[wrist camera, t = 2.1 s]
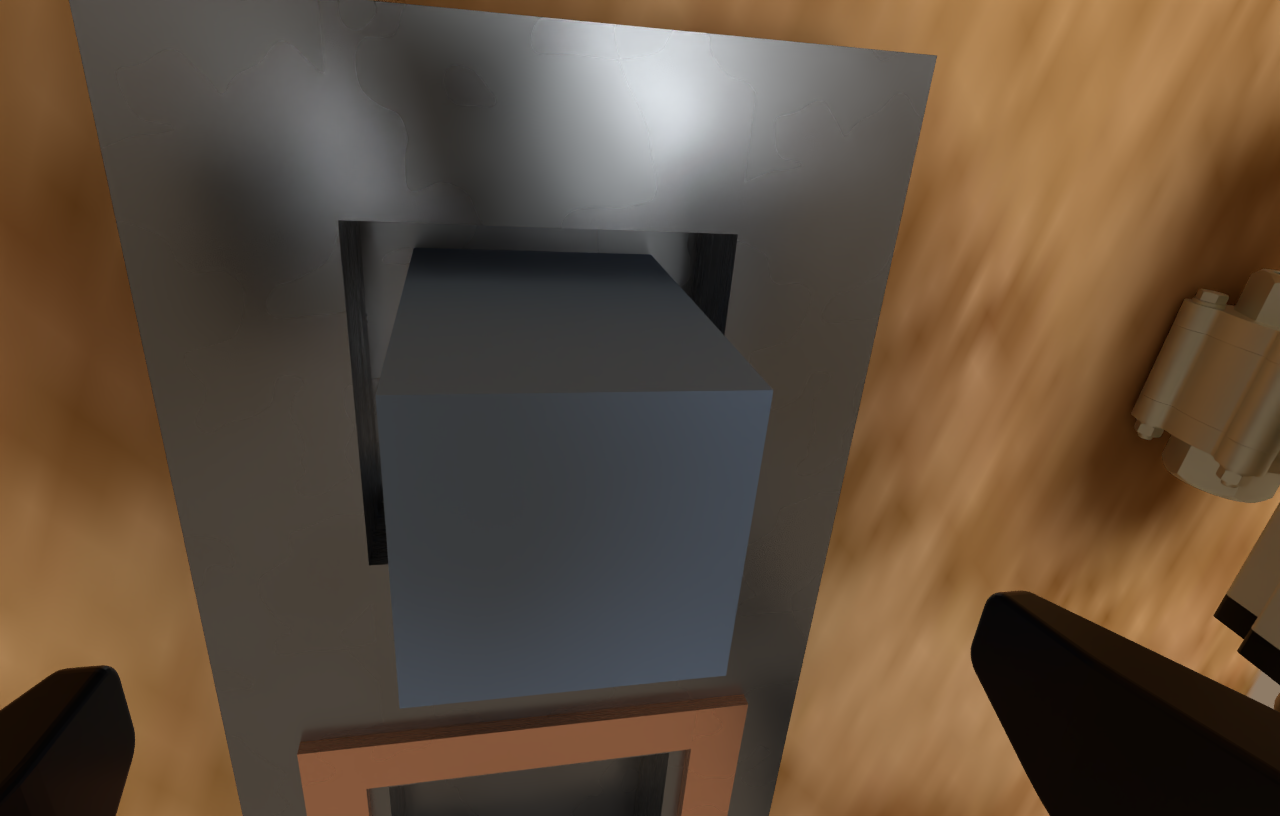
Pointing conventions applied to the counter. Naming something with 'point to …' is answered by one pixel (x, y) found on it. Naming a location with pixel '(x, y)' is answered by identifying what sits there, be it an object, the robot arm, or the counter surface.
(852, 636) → the counter surface
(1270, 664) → the pneumatic valve
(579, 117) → the socket plate
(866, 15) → the counter surface
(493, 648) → the slate gray peg
